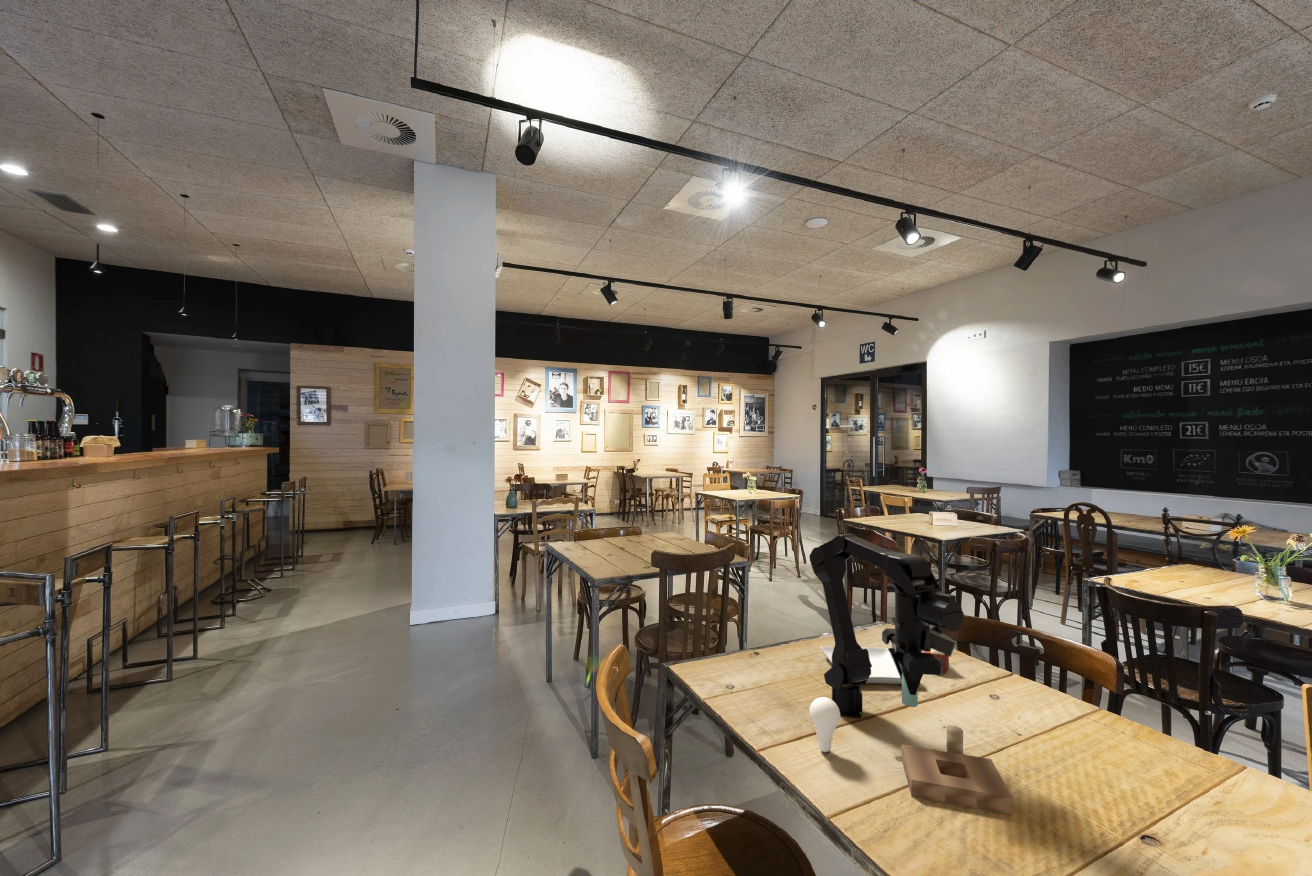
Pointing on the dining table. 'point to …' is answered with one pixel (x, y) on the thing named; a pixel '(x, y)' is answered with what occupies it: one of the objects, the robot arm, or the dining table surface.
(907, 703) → the long teal pin
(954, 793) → the walnut hole block
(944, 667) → the snack package
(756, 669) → the dining table surface
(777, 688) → the dining table surface
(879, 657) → the salad plate
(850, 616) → the robot arm
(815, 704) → the lightbulb
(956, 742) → the short beech pin
